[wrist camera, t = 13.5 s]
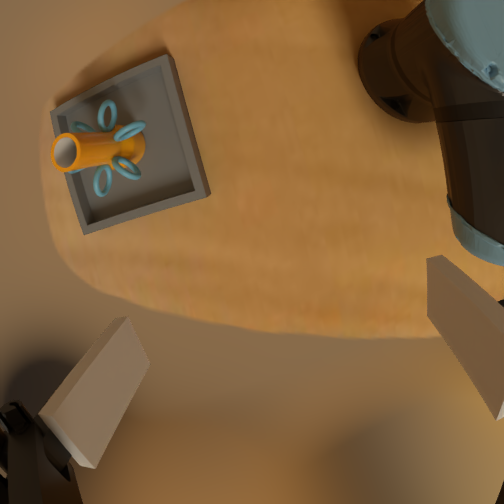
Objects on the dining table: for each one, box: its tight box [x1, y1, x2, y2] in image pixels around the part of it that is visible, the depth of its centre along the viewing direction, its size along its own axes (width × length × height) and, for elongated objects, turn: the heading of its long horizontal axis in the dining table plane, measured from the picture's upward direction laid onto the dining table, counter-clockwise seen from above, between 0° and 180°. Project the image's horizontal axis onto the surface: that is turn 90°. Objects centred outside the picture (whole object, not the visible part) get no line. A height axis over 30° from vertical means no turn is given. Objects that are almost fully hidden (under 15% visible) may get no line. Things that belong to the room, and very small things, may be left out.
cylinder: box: [51, 100, 146, 197], centre depth 34 cm, size 12×10×15 cm
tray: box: [50, 54, 211, 235], centre depth 40 cm, size 20×20×3 cm
